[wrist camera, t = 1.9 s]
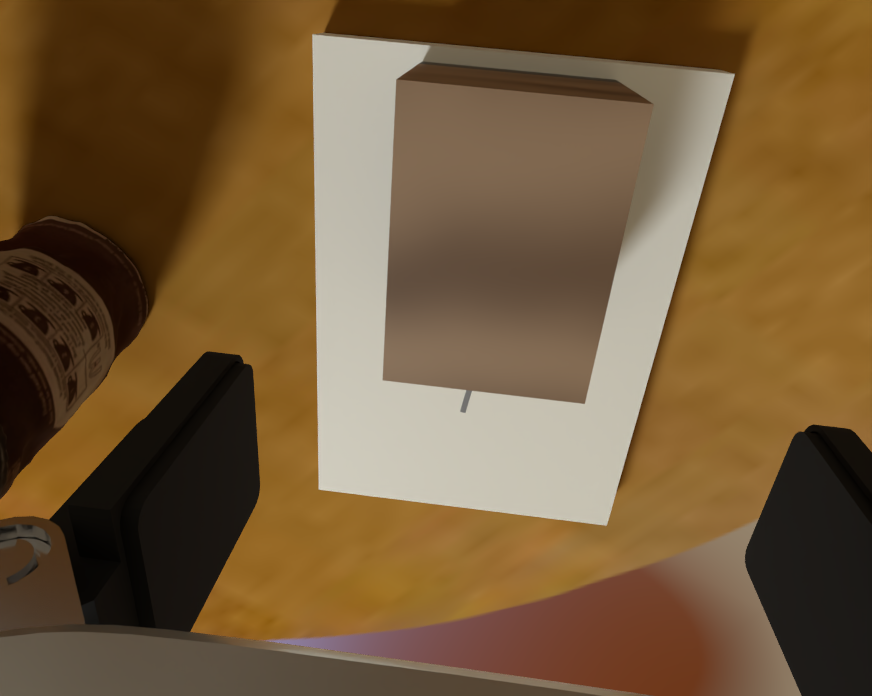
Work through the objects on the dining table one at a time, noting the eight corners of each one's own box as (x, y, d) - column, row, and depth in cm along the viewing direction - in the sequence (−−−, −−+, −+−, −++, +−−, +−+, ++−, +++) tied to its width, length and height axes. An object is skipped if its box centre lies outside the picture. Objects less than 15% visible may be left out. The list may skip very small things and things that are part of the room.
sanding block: (422, 61, 21) (396, 79, 16) (616, 79, 21) (653, 103, 16) (406, 303, 26) (382, 380, 20) (567, 321, 25) (584, 404, 20)
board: (323, 32, 23) (312, 34, 21) (721, 69, 22) (735, 74, 21) (326, 469, 32) (318, 489, 31) (602, 503, 32) (606, 525, 30)
